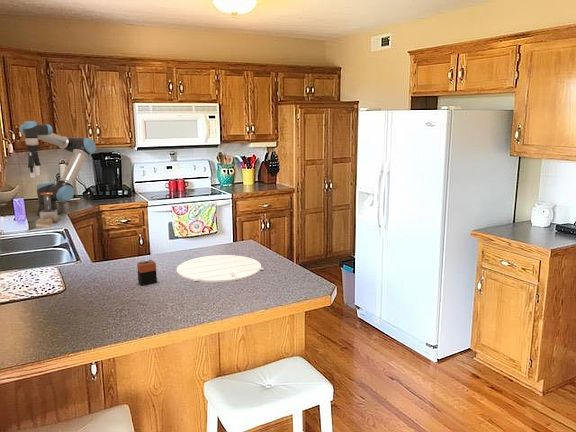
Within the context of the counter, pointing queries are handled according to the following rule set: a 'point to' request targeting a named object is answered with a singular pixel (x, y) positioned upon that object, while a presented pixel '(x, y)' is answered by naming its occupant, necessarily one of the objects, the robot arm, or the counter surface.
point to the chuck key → (47, 201)
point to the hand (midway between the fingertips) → (35, 176)
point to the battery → (147, 272)
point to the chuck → (50, 215)
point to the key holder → (43, 223)
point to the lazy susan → (219, 268)
